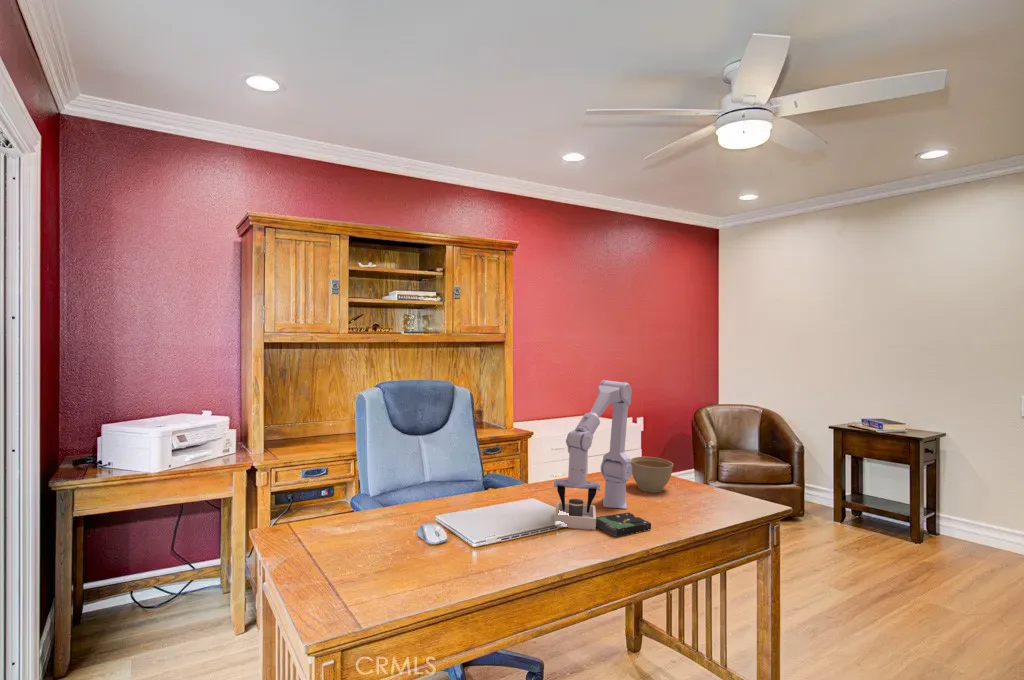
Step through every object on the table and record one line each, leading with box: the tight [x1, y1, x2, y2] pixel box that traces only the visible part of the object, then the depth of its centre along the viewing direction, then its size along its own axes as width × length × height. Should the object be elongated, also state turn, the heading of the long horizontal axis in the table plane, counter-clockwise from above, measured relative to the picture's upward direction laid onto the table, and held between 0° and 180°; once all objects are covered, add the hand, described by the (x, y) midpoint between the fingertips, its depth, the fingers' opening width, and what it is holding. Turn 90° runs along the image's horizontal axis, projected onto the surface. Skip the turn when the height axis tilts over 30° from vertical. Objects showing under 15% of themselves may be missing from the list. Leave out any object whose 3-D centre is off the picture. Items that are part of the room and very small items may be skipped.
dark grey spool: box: [568, 498, 584, 517], centre depth 180 cm, size 5×5×6 cm
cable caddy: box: [554, 502, 597, 531], centre depth 180 cm, size 13×13×4 cm
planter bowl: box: [630, 456, 674, 494], centre depth 219 cm, size 16×16×11 cm
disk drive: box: [596, 512, 652, 537], centre depth 176 cm, size 10×3×15 cm
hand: (575, 510), depth 180 cm, fingers open, 7 cm apart
